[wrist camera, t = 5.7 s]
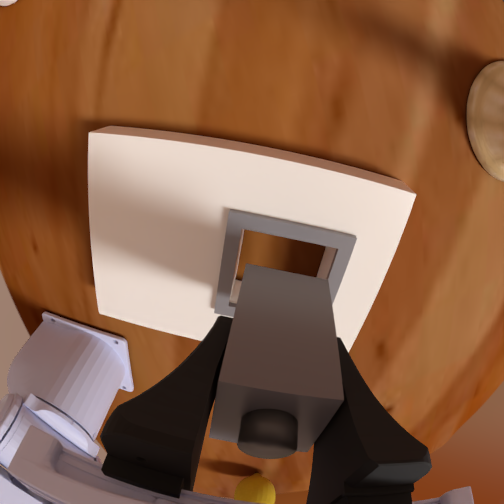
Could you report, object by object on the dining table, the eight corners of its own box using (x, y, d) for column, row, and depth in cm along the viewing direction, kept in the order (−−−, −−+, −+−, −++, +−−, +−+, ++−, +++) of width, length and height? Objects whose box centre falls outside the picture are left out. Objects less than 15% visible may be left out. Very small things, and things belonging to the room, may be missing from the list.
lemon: (271, 465, 36) (266, 517, 29) (281, 478, 38) (277, 525, 31) (232, 466, 37) (224, 515, 30) (245, 479, 39) (238, 524, 32)
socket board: (113, 293, 24) (96, 316, 21) (110, 125, 18) (84, 133, 15) (338, 342, 24) (341, 369, 21) (401, 181, 17) (419, 196, 15)
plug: (234, 325, 17) (204, 458, 10) (246, 263, 15) (212, 406, 8) (306, 338, 17) (306, 472, 10) (328, 279, 15) (346, 425, 8)
